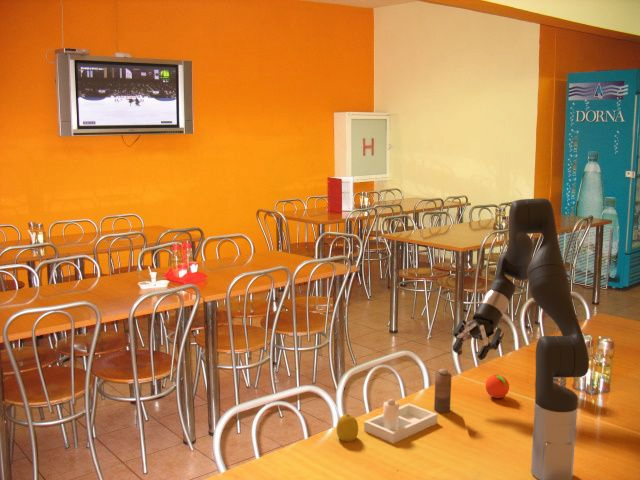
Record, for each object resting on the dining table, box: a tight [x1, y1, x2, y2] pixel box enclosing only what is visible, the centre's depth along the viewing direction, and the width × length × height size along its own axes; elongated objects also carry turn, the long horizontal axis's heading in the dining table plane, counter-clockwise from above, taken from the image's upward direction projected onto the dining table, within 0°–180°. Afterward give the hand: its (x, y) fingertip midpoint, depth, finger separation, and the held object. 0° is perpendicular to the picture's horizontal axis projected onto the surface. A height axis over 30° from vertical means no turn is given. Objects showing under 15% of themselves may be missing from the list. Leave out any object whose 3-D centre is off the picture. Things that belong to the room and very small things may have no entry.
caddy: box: [363, 403, 439, 444], centre depth 182 cm, size 18×10×4 cm, turn 133°
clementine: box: [485, 374, 510, 399], centre depth 205 cm, size 8×7×7 cm
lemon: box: [336, 413, 359, 443], centre depth 175 cm, size 6×6×8 cm
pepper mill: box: [433, 368, 452, 414], centre depth 192 cm, size 4×4×13 cm
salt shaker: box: [382, 398, 400, 431], centre depth 178 cm, size 4×4×9 cm
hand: (467, 354), depth 198 cm, fingers open, 8 cm apart
